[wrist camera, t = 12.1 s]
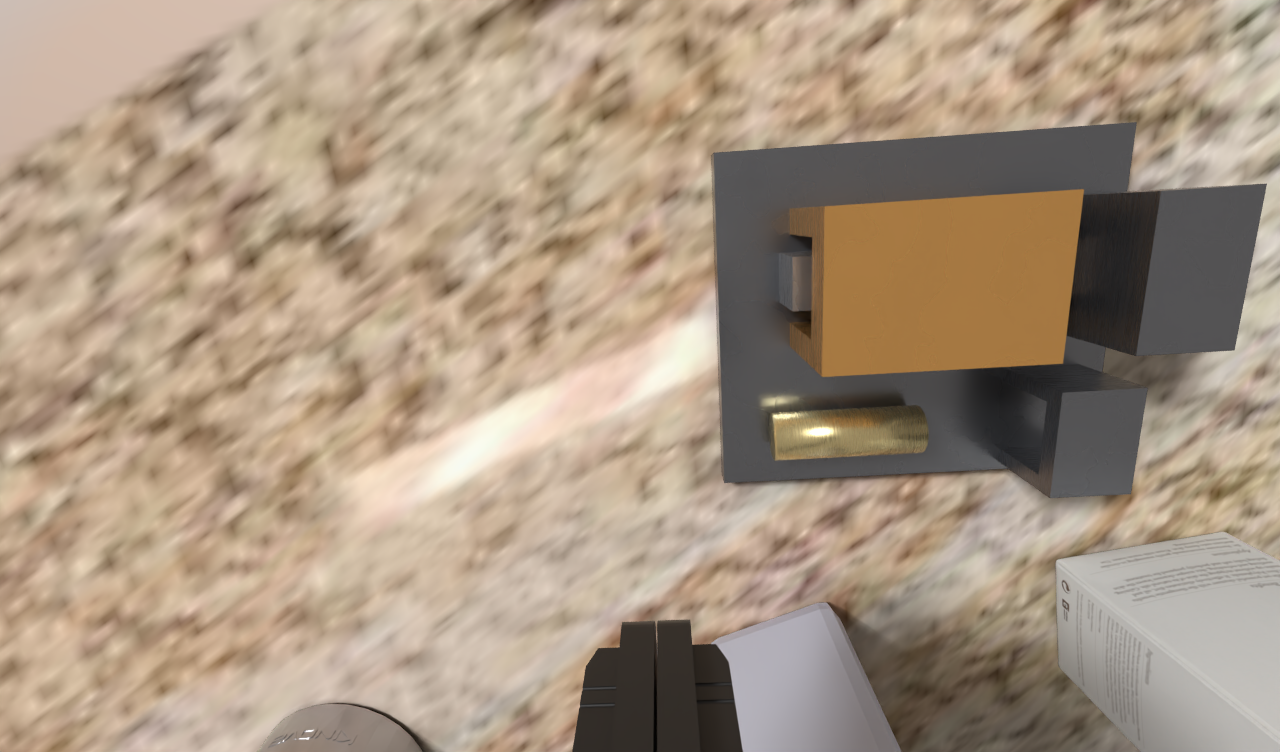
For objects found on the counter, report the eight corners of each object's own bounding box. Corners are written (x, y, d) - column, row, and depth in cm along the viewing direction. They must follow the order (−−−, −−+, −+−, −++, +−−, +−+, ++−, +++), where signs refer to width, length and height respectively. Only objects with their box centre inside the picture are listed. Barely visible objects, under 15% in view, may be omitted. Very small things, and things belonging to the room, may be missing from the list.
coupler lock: (983, 335, 25) (1063, 363, 20) (789, 346, 25) (822, 377, 20) (995, 194, 23) (1084, 189, 19) (789, 208, 24) (824, 206, 19)
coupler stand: (1073, 455, 27) (1213, 534, 20) (721, 473, 28) (743, 556, 21) (1116, 126, 24) (1303, 89, 17) (710, 155, 24) (733, 131, 17)
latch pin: (906, 442, 26) (927, 460, 24) (768, 449, 26) (777, 468, 24) (909, 398, 26) (929, 413, 24) (768, 406, 26) (777, 422, 24)
